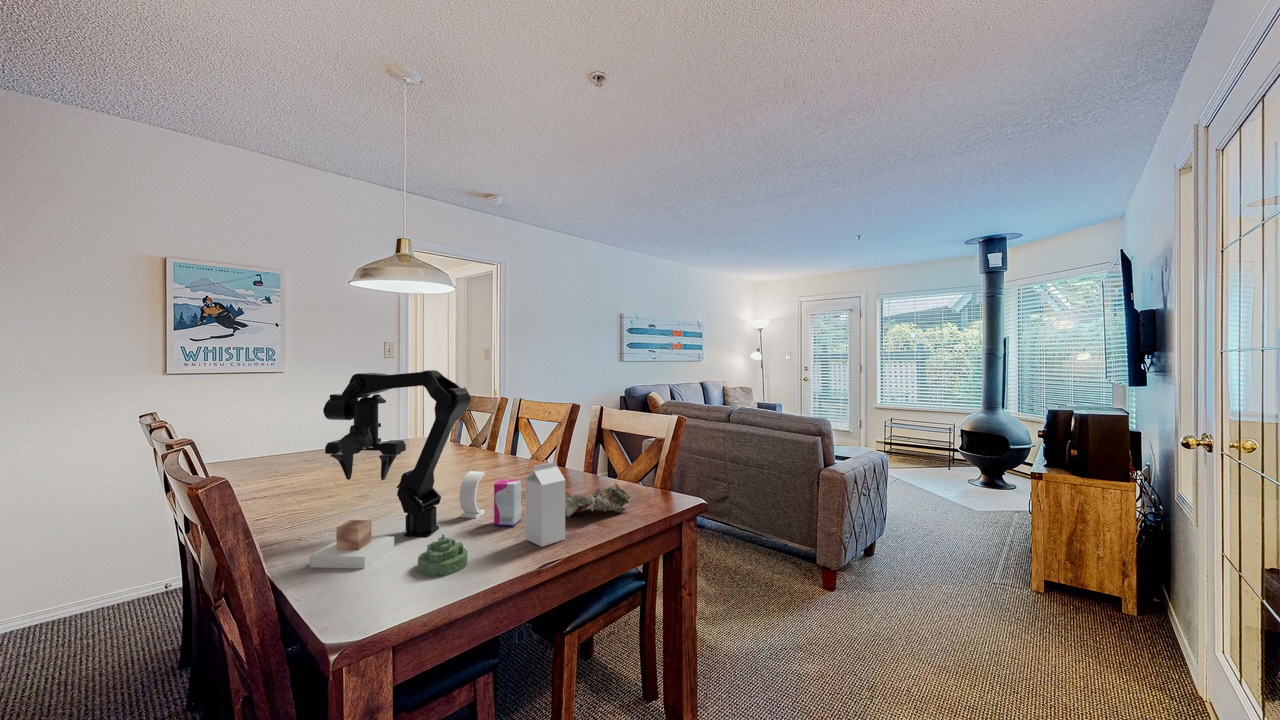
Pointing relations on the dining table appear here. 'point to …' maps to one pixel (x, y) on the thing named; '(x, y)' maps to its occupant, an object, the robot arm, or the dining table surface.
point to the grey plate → (352, 554)
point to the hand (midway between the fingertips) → (366, 479)
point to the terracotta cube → (353, 535)
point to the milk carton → (545, 505)
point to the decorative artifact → (442, 558)
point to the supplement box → (507, 503)
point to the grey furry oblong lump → (598, 501)
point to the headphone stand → (470, 495)
